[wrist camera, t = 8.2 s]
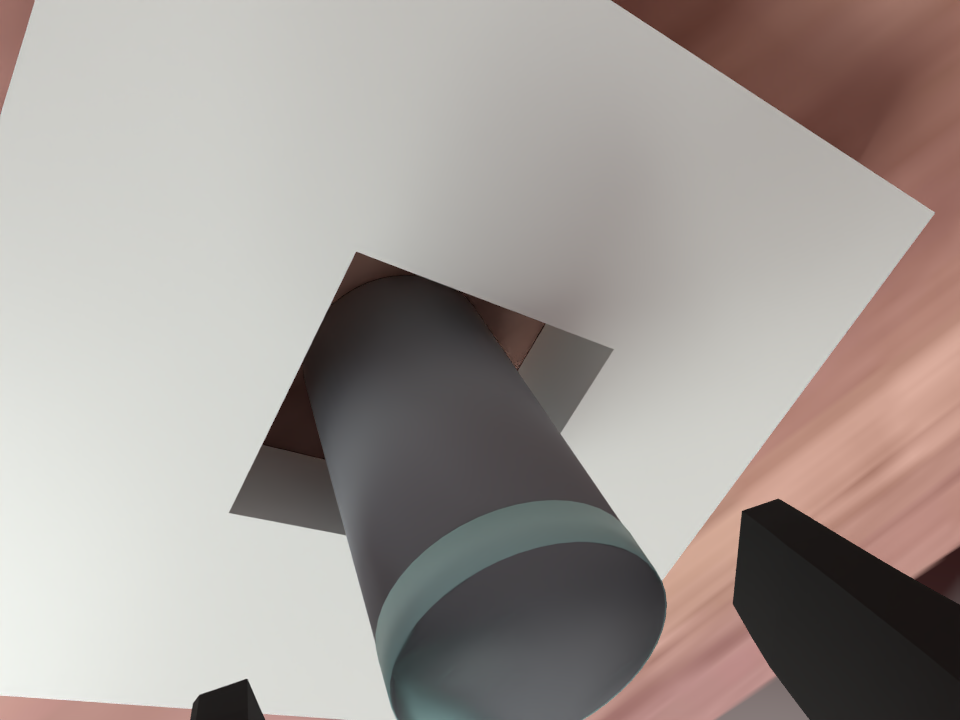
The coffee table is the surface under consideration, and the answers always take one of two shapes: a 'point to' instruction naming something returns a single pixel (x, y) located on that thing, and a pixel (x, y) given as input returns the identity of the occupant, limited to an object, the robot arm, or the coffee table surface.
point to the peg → (471, 518)
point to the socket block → (318, 274)
